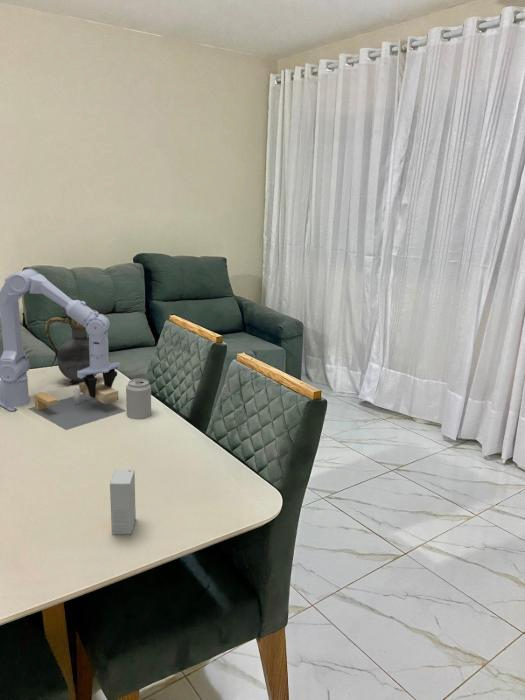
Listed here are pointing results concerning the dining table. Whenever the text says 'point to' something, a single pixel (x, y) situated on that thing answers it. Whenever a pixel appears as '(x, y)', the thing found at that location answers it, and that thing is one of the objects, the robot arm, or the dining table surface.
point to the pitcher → (71, 350)
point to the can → (138, 399)
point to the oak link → (101, 392)
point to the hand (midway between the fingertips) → (100, 394)
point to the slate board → (72, 409)
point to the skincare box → (122, 501)
